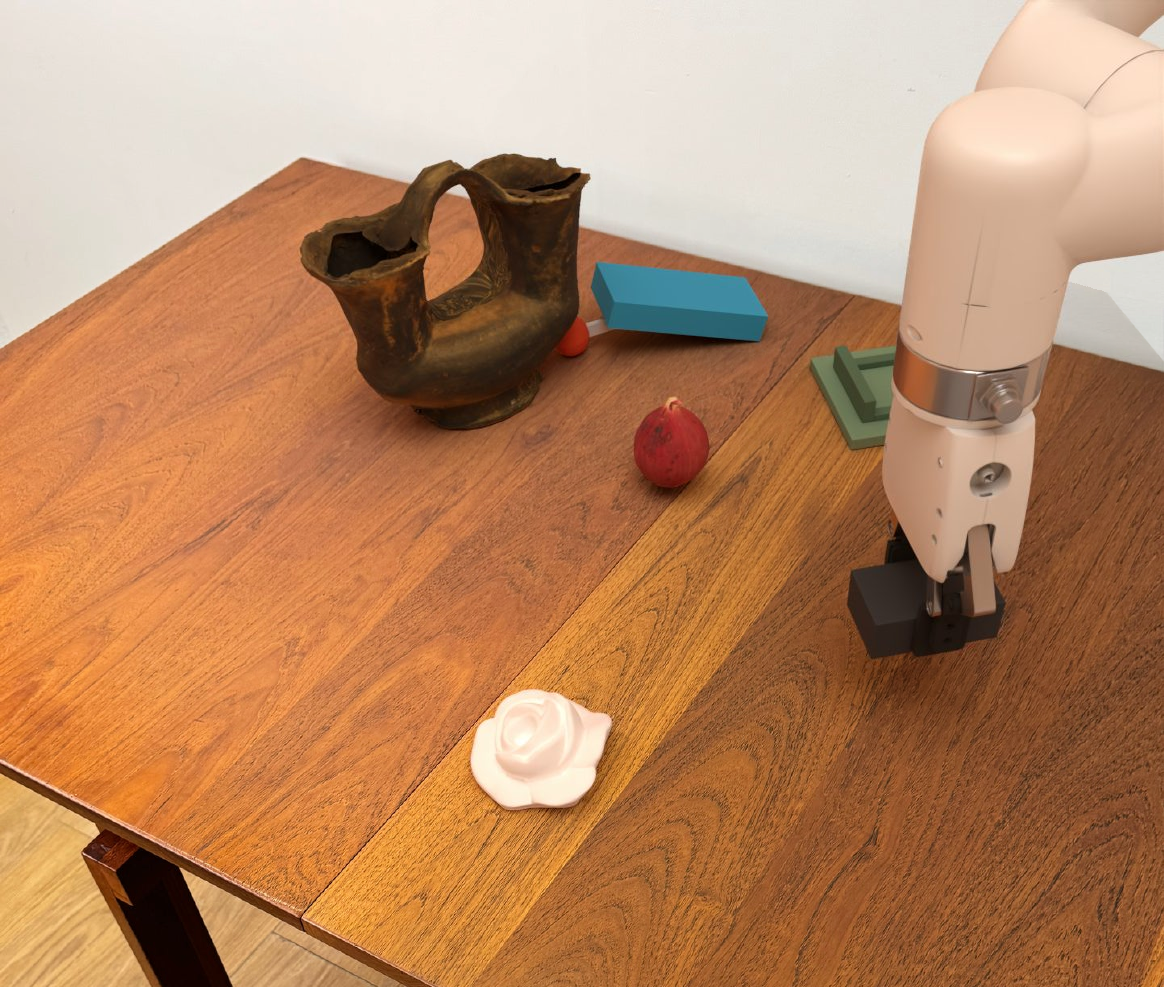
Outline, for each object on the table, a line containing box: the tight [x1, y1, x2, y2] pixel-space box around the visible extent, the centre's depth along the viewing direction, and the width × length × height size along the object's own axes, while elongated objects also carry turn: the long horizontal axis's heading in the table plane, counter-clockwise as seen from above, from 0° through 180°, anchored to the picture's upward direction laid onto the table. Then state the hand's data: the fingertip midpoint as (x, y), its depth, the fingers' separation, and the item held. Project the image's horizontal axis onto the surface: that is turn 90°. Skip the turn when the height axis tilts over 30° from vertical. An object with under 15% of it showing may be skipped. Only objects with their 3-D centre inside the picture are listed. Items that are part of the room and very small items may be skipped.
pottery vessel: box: [299, 153, 591, 430], centre depth 101 cm, size 25×11×20 cm, turn 129°
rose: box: [470, 688, 613, 811], centre depth 81 cm, size 10×4×10 cm
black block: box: [846, 559, 1007, 660], centre depth 77 cm, size 8×5×3 cm, turn 99°
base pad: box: [809, 344, 896, 451], centre depth 104 cm, size 14×12×3 cm
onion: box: [633, 395, 711, 489], centre depth 96 cm, size 6×6×8 cm
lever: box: [555, 261, 769, 357], centre depth 112 cm, size 7×7×18 cm
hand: (921, 615), depth 78 cm, fingers closed on black block, 5 cm apart
